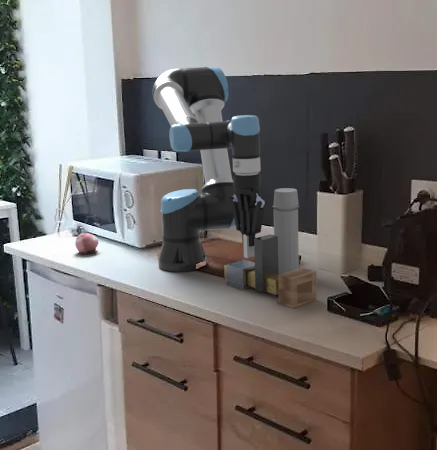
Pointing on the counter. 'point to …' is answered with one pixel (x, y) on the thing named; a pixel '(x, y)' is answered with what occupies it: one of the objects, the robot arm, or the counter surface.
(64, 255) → the counter surface
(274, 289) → the grey and yellow block
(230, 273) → the sleeve
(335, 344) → the counter surface
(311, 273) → the socket block
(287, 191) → the water bottle
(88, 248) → the apple
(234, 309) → the counter surface
